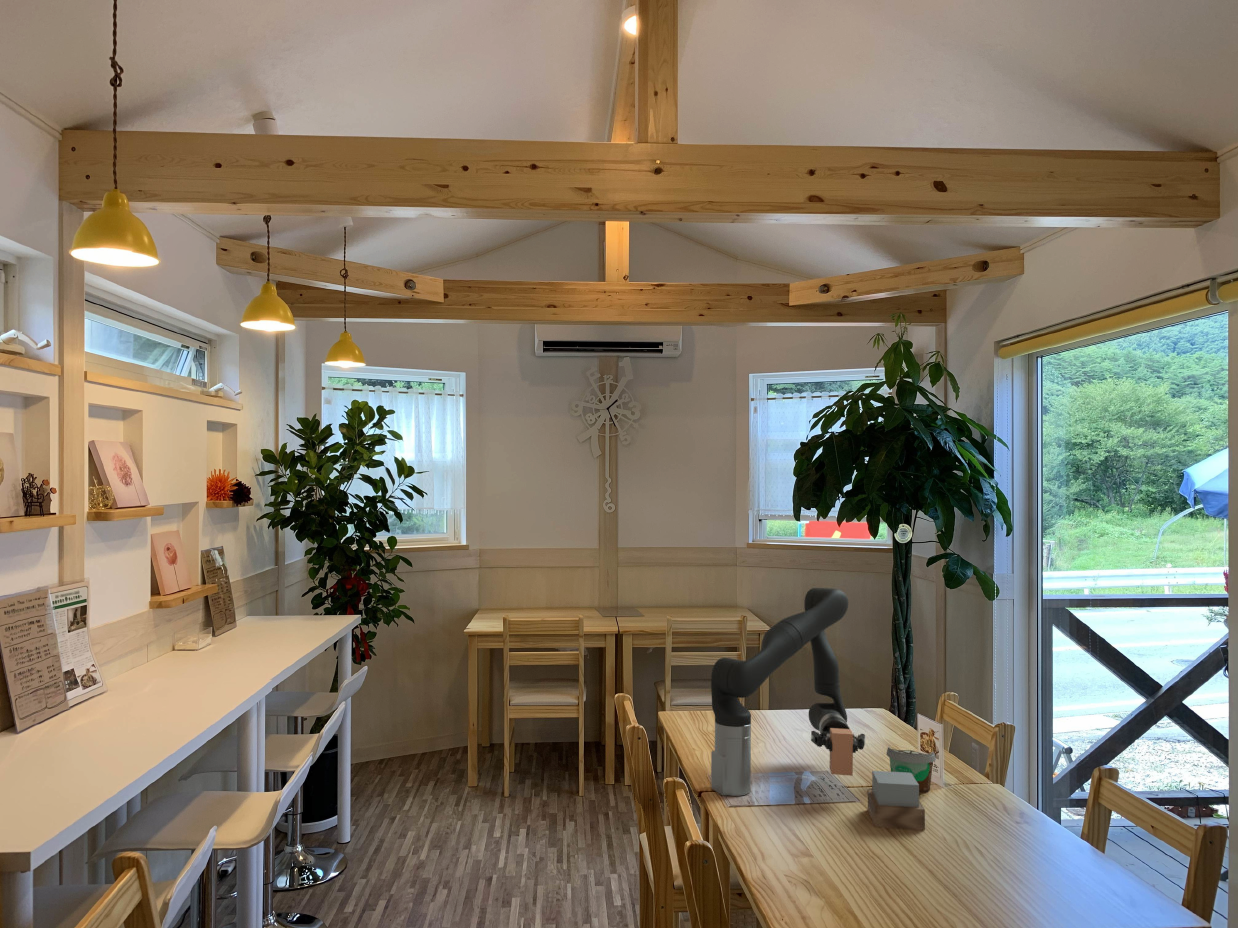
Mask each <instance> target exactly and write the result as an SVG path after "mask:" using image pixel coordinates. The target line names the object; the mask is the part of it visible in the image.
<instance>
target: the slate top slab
mask: <svg viewBox="0 0 1238 928" xmlns="http://www.w3.org/2000/svg"><path fill="white" fill-rule="evenodd" d="M871 773H872V774H871V775H872V778H871V779H872V780H871V781H872V784H871V785H872V790H871V791H872V792H873V794H874V796H875V799H876V801H877V803H878V805H888V806H905V807H919V801H920V793H919V784H918V783H917V781H916V780H915V778H914V777H913V775H912V773H906V772H891V771H886V770H872V772H871Z"/></svg>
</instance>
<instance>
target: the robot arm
mask: <svg viewBox="0 0 1238 928" xmlns="http://www.w3.org/2000/svg"><path fill="white" fill-rule="evenodd" d="M803 602H804V611H802V612H799V613H795V614H792V615H790V616H787V617H784V618H783V619H781V620H779V621H778V622H777V623H775V624H774V625H773V626H772V627H770V628H769V629H768V630H767V631H766V632H765V633H764V634H763V636H762V640H761V646H760V650H759V652H757V653H756V654H754V655H753V656H752V657H750V658H749V659H746V660H740V659H736V658H732V657H721V658H718V659H717V661H715V663H714V664H713V667H712V670H711V675H710V689H711V690H710V691H711V693H710V694H711V707H712V713H713V714H714V750H712V751H711V753H710V754H711V755H710V758H711V760H710V763H711V764H710V767H711V769H710V782H711V783H710V787H711V790H713V791H715V792H716V793H718V794H719V795H721V796H732V797H733V796H735V797H736V796H745V795H746V796H747V794H750V792H751V786H752V784H751V783H752V781H751V780H752V779H751V777H752V774H751V773H752V771H751V769H752V768H751V767H752V765H751V761H752V760H751V759H752V758H751V757H752V755H751V751H752V750H751V749H752V714H751V711H750V710H749V709H747V707H745V706H744V705H743V704H742V702H741V701H740V700H739V698H741V699H742V698H743V699H744V698H749V696H751V695H752V694H754V693H755V692H756V691H757V690H758V689H759V688H760V687H761V686H762V684H763V683H764V682H765V681H766V680H767V679H768V678H769V677H770V676H771V675H772V674H773V673H774V672H775V671H776V670H778V668H780V667H781V666H782V665H783V664H784V663H785V662H786V661H787V660H789V659H790V658H791V657H793V656H794V655H795V654H796V653H798V652H799V651H800V650H801V649H802V648H803V647H804V646H805V645H806V644H808V643H809V642H810V646H811V652H812V659H813V662H812V663H813V683H814V684H813V686H814V692H815V693H816V694H818V695H820V696H825V697H829V698H830V699H832V702H815V703H813V704H812V705H810V707H809V710H808V720H809V723H810V725H811V726H812V728H813V729H815V730H811V731H810V733H811V734H810V740H811V741H810V742H811V743H813V744H814V745H815V746H817V747H818V748H821V747H823V746H824V748H825V749H826V750H828V751H829V752H830V751H832V749H833V743H832V741H831V739H830V728H838V729H851V728H850V727H849V724H848V723H847V722H848V714H847V711H846V707H845V705H844V701H843V699H842V694H841V686H840V685H841V684H840V667H839V661H838V659H837V656H836V654H835V653H834V651H833V649H832V647H831V644H830V643H829V640H828V637H827V634H826V632H825V630H827V629H828V628H830V627H831V626H833V625H834V624H837V622H839V621H840V620H842V619H843V617H844V616H846V614H847V611H848V608H849V599H848V595H846V593H845V592H843V590H841V589H837V588H832V587H831V588H829V587H813V588H810V589H809V590H808V591H807V592H806V594H805V596H804V601H803ZM865 744H866V734H864V733H860V734H858V735H855V734H854V733H853V754H856V752H858V751H859V750H864V748H865Z"/></svg>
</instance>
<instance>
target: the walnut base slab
mask: <svg viewBox="0 0 1238 928" xmlns="http://www.w3.org/2000/svg"><path fill="white" fill-rule="evenodd" d="M867 812H868V815H869V816H870V819H871V821H872V823H873V825H874V827H875V828H882V829H883V828H885V829H887V828H888V829H901V830H918V831H925V830H926V808H924V806H923V804H922V803H921V801H920V800H919V807H905V806H888V805H878V803H877V801H876V799H875V796H874V794H873V792H872V790H867Z"/></svg>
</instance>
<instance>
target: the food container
mask: <svg viewBox="0 0 1238 928" xmlns="http://www.w3.org/2000/svg"><path fill="white" fill-rule="evenodd" d="M886 749H887V750H886V756H887V757H888V758H889V767H890V772H906V773H912V775H913V777H914V778H915V780H916V781H917V783H918V784H919V794H925V793H929V792H930V790H931V785H932V775H933V765H934V762H935V761H936V753H935V751H932V752H930V753H921V752H918V751H915V750H910V749H908V750H907V749H905V750H902V749H901V750H899V749H893V748H890V746H888V747H887V748H886Z"/></svg>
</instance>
